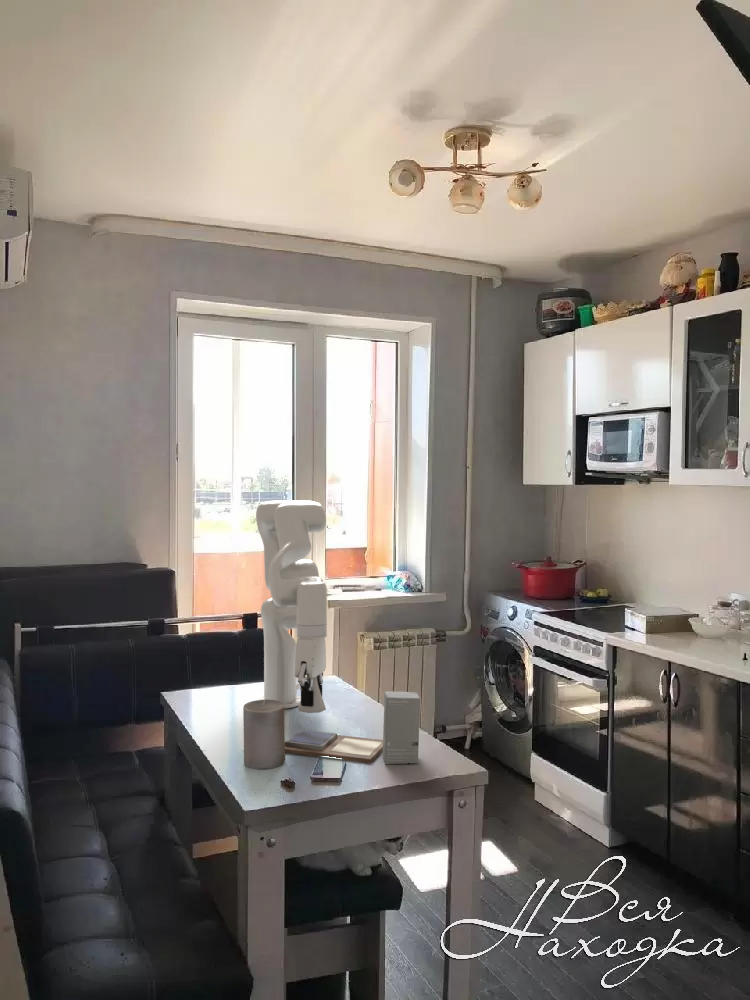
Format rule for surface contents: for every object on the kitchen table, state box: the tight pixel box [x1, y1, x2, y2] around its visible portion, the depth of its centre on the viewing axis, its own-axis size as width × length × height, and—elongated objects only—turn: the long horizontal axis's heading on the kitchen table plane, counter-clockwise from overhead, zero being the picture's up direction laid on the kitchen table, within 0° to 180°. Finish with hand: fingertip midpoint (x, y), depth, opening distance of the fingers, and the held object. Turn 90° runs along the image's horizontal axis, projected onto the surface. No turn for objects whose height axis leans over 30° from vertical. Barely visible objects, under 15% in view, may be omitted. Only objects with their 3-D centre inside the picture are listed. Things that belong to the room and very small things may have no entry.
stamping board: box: [285, 729, 383, 764], centre depth 202 cm, size 14×24×2 cm, turn 72°
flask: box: [297, 675, 326, 714], centre depth 203 cm, size 7×7×10 cm
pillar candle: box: [242, 699, 286, 770], centre depth 192 cm, size 10×10×15 cm
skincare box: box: [382, 691, 421, 765], centre depth 194 cm, size 8×7×16 cm
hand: (311, 702), depth 203 cm, fingers closed on flask, 4 cm apart
